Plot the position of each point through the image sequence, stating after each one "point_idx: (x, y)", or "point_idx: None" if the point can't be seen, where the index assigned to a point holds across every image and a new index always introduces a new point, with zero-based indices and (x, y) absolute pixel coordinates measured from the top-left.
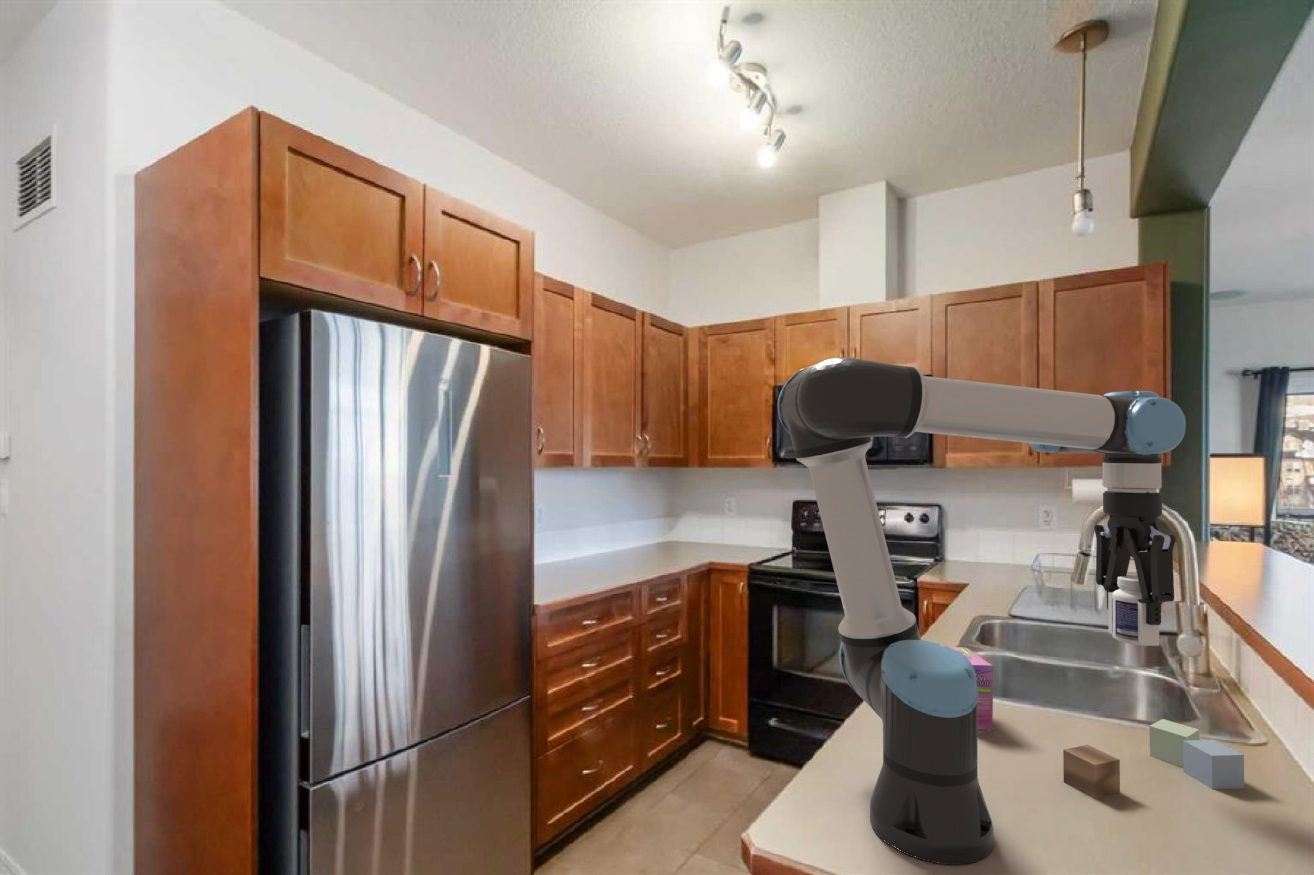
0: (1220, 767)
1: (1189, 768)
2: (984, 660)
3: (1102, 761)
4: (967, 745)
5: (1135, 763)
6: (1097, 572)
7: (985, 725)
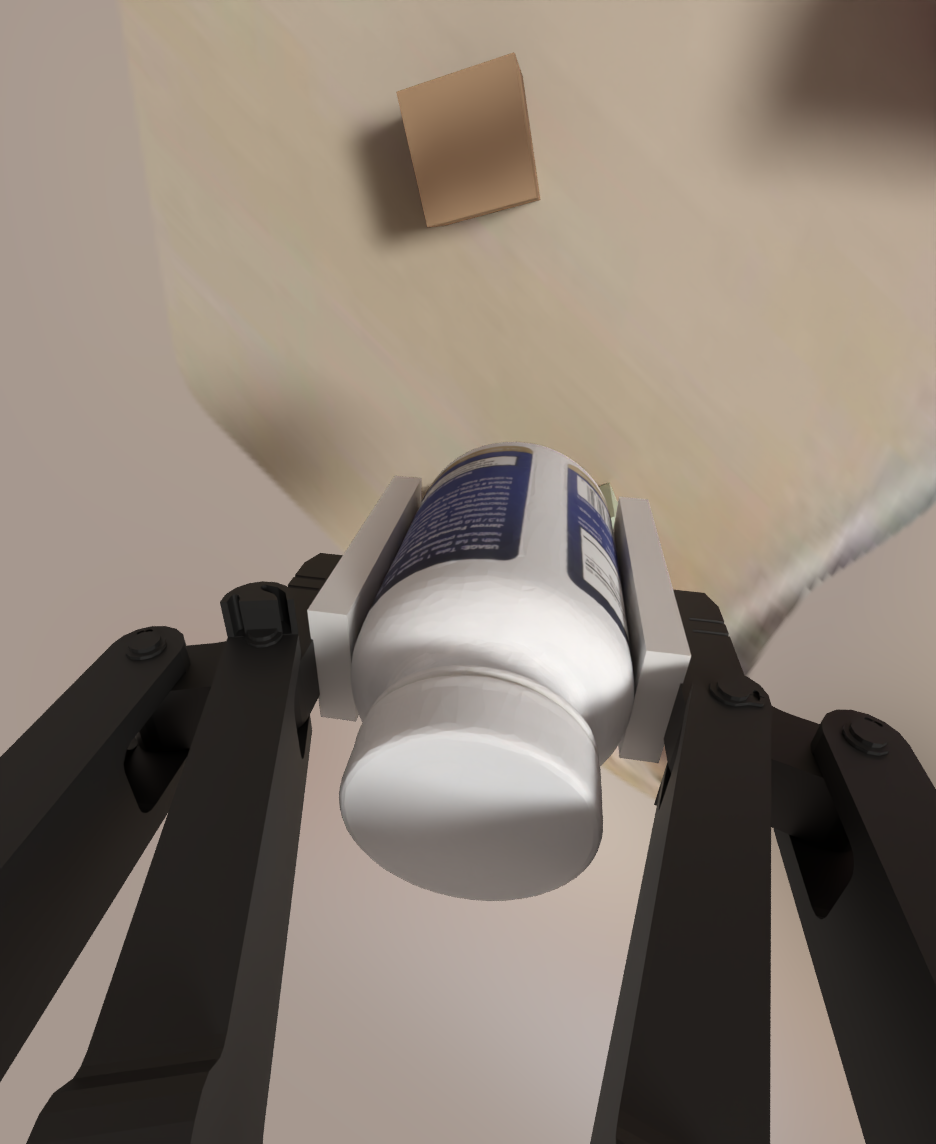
0: None
1: None
2: None
3: (417, 147)
4: None
5: (582, 411)
6: (926, 819)
7: None
